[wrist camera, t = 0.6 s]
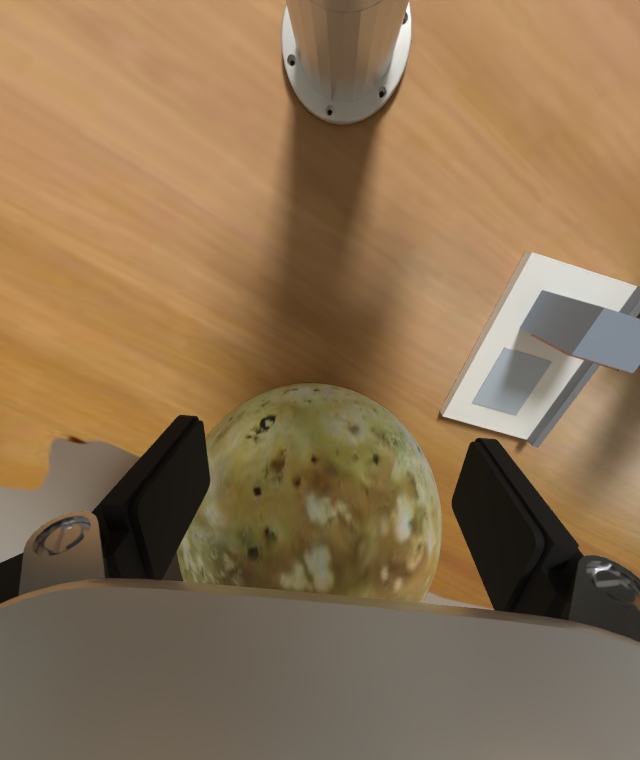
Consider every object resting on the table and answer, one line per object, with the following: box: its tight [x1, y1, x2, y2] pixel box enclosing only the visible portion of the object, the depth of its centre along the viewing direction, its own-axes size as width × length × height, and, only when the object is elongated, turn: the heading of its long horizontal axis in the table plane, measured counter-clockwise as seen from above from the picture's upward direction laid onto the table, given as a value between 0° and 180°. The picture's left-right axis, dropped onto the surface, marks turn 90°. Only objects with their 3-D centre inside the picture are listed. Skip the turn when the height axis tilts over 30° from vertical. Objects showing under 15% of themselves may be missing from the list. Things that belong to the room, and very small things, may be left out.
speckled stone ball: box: [177, 383, 442, 603], centre depth 38 cm, size 30×30×30 cm
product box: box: [520, 290, 640, 373], centre depth 35 cm, size 5×7×10 cm
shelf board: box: [440, 252, 640, 447], centre depth 42 cm, size 24×15×3 cm, turn 164°
